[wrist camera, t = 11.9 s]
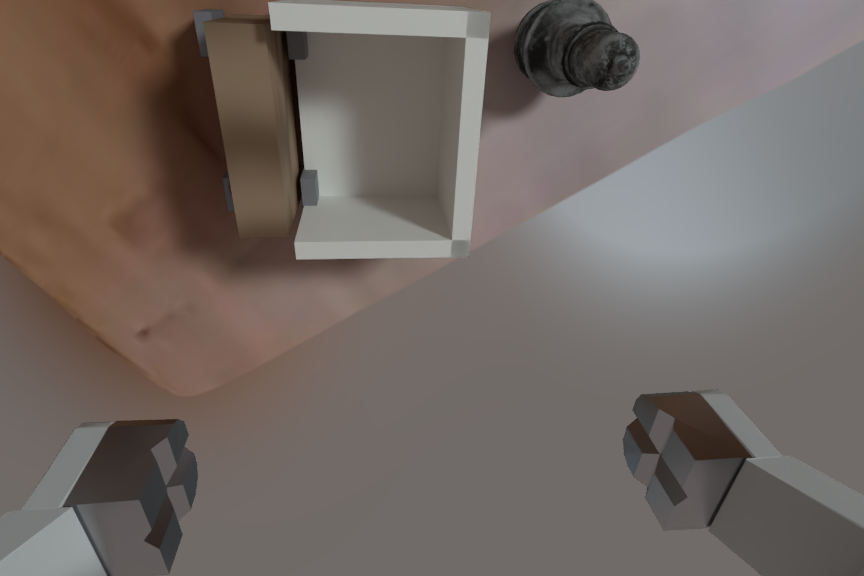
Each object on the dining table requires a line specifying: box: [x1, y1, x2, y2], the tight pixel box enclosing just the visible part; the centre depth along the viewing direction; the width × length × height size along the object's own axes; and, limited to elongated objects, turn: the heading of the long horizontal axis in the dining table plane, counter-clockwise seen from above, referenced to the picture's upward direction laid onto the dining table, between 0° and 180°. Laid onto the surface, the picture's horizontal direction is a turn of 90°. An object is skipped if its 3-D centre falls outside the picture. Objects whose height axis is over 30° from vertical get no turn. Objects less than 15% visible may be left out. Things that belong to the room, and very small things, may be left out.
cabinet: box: [193, 0, 491, 260], centre depth 32 cm, size 14×16×9 cm
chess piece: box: [514, 0, 640, 97], centre depth 30 cm, size 6×6×12 cm
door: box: [203, 14, 302, 238], centre depth 32 cm, size 12×4×8 cm, turn 178°
